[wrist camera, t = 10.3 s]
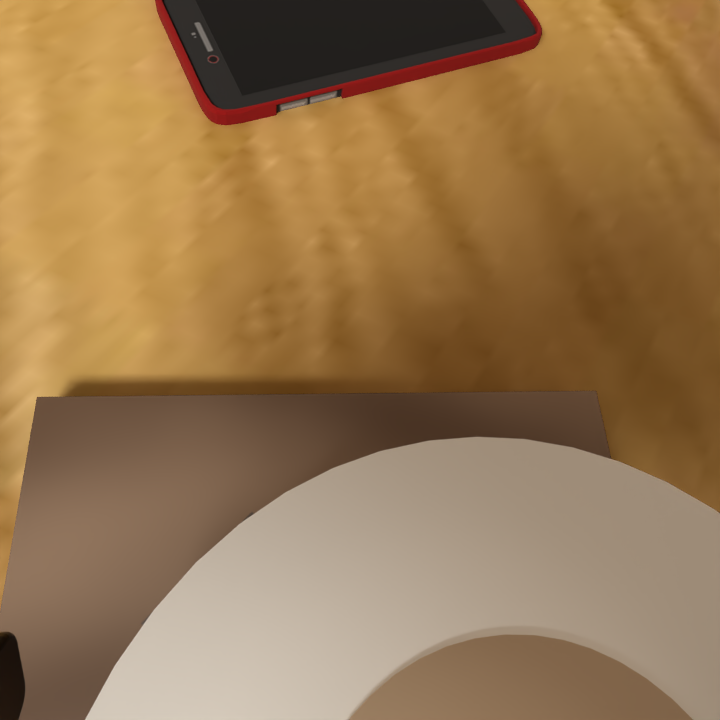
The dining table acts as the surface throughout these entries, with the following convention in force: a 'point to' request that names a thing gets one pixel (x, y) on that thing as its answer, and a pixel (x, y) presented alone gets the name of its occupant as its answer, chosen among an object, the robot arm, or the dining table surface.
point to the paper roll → (444, 598)
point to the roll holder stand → (196, 500)
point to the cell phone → (331, 47)
